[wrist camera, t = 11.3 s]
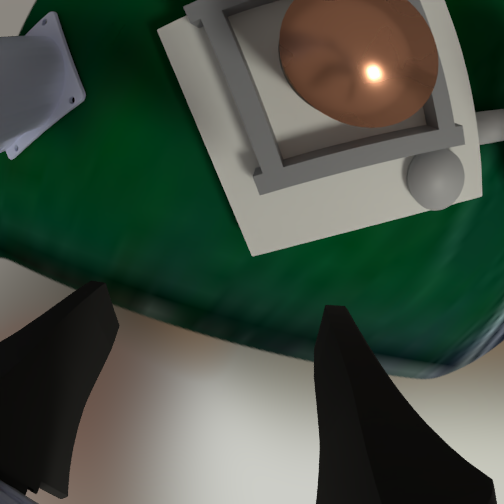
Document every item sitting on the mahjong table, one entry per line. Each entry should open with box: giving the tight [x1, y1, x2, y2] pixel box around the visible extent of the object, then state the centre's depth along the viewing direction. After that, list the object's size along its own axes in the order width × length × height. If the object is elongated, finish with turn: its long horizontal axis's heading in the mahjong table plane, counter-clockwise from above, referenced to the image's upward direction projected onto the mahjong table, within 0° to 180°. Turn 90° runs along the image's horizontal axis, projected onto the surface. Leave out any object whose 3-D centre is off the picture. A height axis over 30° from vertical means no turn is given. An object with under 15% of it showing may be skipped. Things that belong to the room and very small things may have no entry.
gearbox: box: [157, 0, 504, 256], centre depth 13 cm, size 19×14×4 cm
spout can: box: [278, 0, 439, 128], centre depth 9 cm, size 5×6×6 cm
